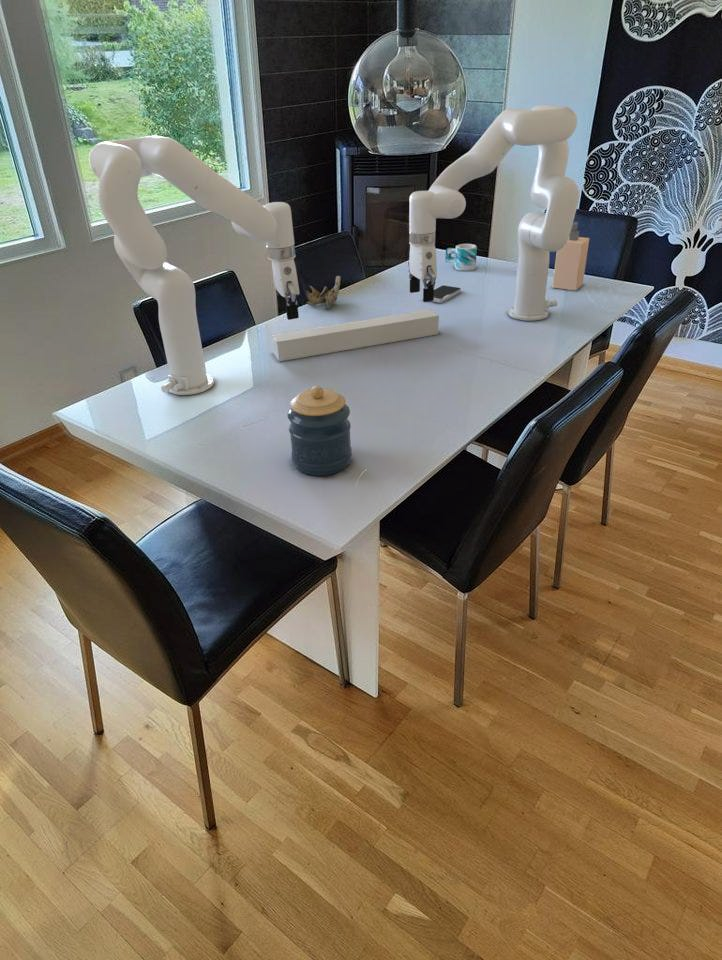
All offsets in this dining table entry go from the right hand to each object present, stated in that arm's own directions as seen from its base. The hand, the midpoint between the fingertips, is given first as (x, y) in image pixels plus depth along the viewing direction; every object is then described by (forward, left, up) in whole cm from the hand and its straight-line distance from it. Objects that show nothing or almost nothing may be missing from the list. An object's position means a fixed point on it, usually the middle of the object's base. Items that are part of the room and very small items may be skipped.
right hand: (421, 296), depth 202 cm
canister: (+51, +61, -12) cm, 81 cm away
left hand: (+41, 0, +1) cm, 41 cm away
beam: (+21, 0, -12) cm, 24 cm away
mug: (-44, -59, -12) cm, 75 cm away
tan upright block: (-66, -19, -12) cm, 69 cm away
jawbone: (+18, -39, -12) cm, 45 cm away
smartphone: (-22, -30, -12) cm, 39 cm away
